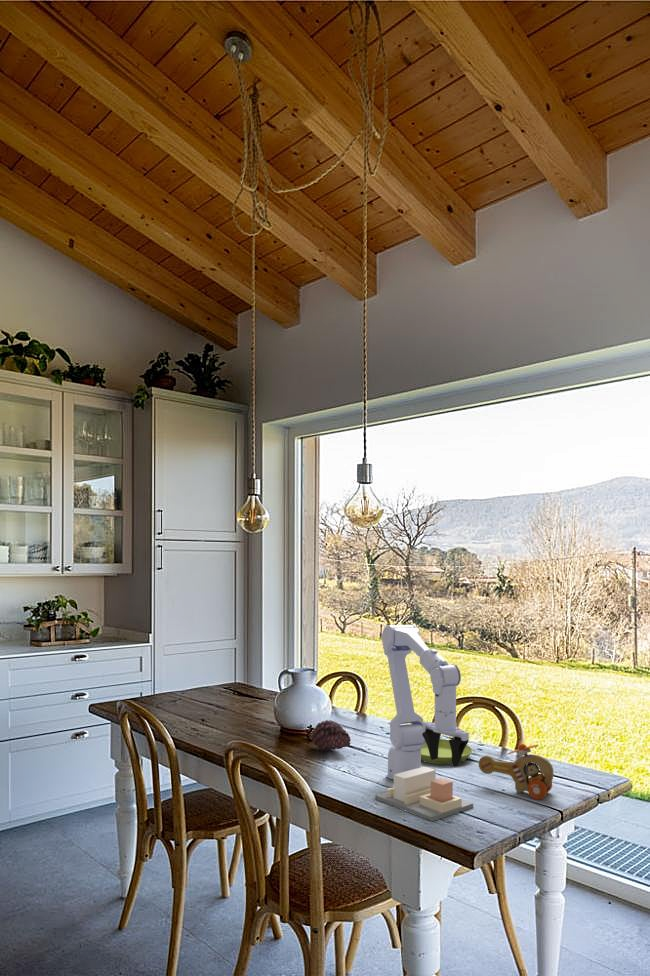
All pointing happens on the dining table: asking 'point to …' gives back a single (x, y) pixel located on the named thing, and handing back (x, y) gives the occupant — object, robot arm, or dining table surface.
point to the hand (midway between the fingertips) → (444, 762)
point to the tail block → (441, 790)
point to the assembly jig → (425, 804)
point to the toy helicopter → (523, 771)
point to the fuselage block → (412, 781)
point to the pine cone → (330, 736)
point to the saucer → (443, 753)
